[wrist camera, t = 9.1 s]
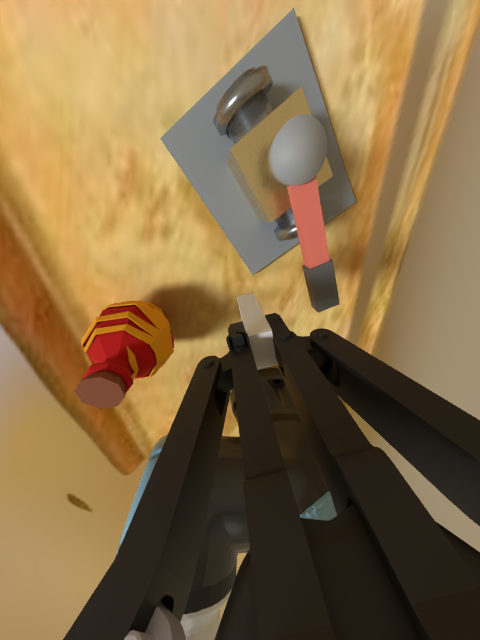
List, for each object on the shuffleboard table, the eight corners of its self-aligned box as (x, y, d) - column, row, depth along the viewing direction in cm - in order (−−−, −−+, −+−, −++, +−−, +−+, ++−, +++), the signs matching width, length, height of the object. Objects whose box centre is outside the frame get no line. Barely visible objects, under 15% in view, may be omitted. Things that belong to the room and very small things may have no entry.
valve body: (316, 210, 26) (354, 210, 19) (271, 243, 28) (291, 254, 21) (261, 80, 20) (287, 6, 13) (206, 130, 22) (202, 90, 14)
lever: (260, 138, 16) (266, 129, 14) (310, 115, 15) (322, 102, 13) (304, 308, 23) (311, 316, 22) (337, 295, 23) (347, 301, 21)
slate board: (351, 202, 27) (355, 202, 26) (252, 273, 30) (253, 274, 29) (290, 17, 19) (293, 8, 18) (162, 141, 22) (160, 138, 21)
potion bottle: (177, 348, 35) (154, 432, 22) (111, 337, 32) (41, 424, 19) (187, 293, 30) (166, 357, 17) (112, 276, 28) (22, 334, 15)
